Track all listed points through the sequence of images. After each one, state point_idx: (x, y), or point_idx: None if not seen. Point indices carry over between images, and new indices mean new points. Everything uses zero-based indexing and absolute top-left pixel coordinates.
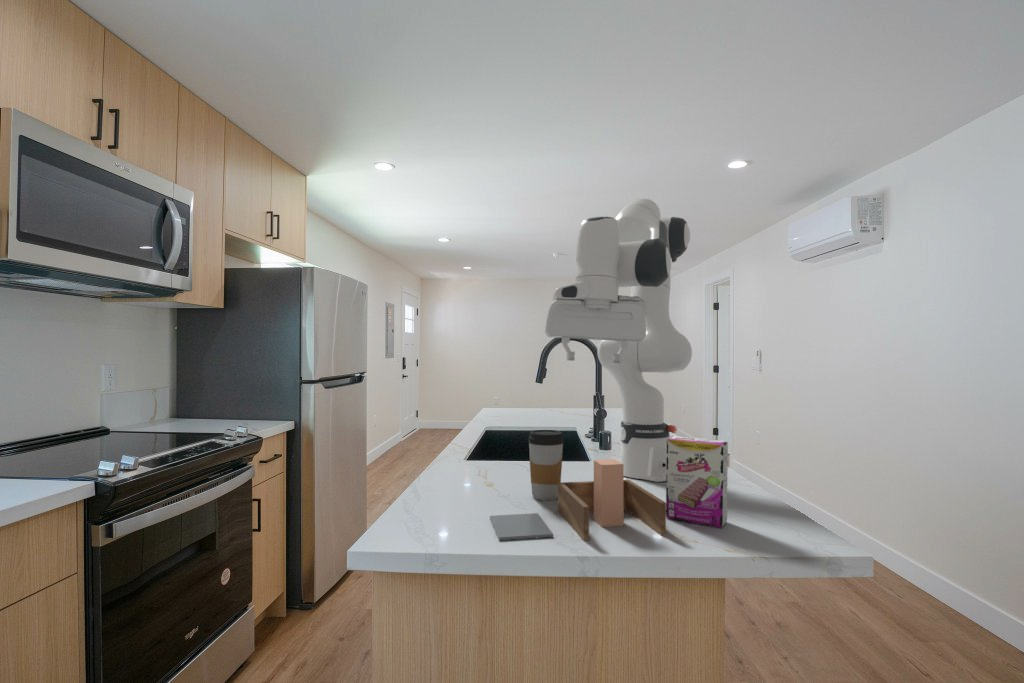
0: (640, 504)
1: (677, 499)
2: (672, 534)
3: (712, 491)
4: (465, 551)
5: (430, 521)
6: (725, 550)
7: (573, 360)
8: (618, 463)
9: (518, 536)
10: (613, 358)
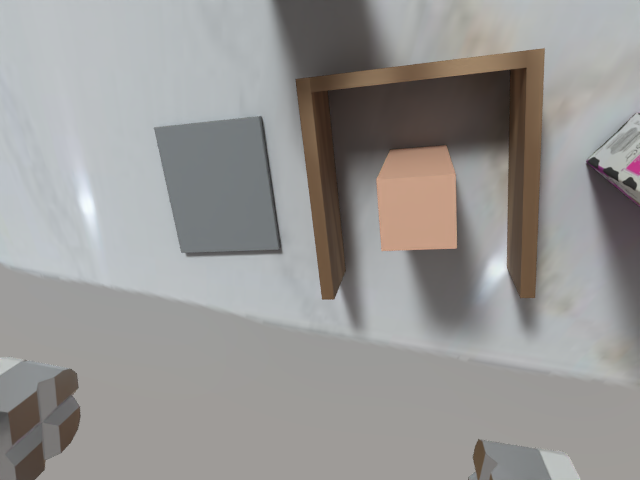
0: (515, 172)
1: (628, 194)
2: (537, 264)
3: None
4: (136, 285)
5: (47, 132)
6: (599, 353)
7: (74, 416)
8: (443, 237)
9: (214, 251)
10: (496, 467)
